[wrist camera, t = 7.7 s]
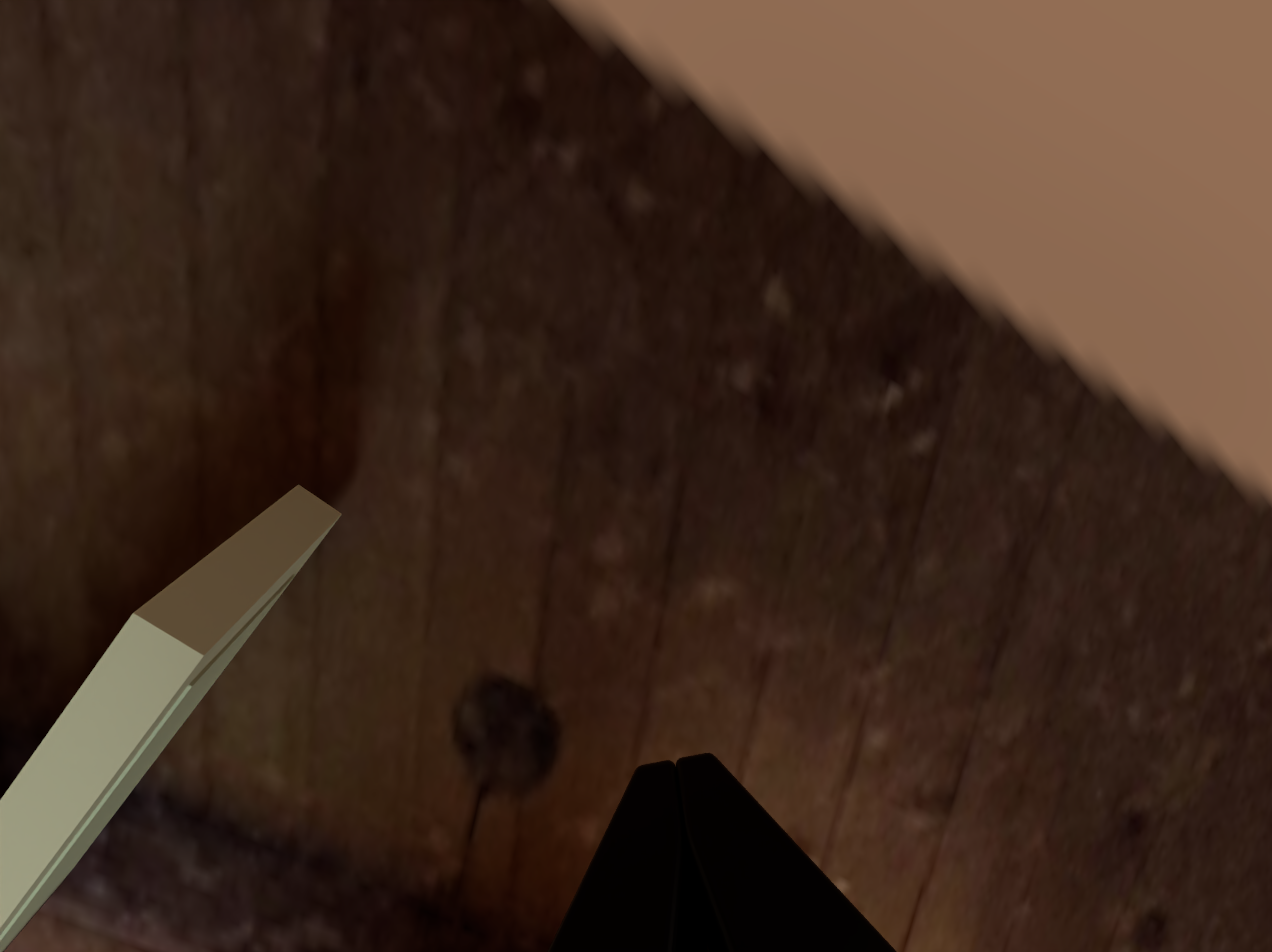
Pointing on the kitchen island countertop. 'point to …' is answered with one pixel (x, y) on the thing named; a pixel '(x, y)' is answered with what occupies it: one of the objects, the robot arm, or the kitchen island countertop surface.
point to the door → (143, 700)
